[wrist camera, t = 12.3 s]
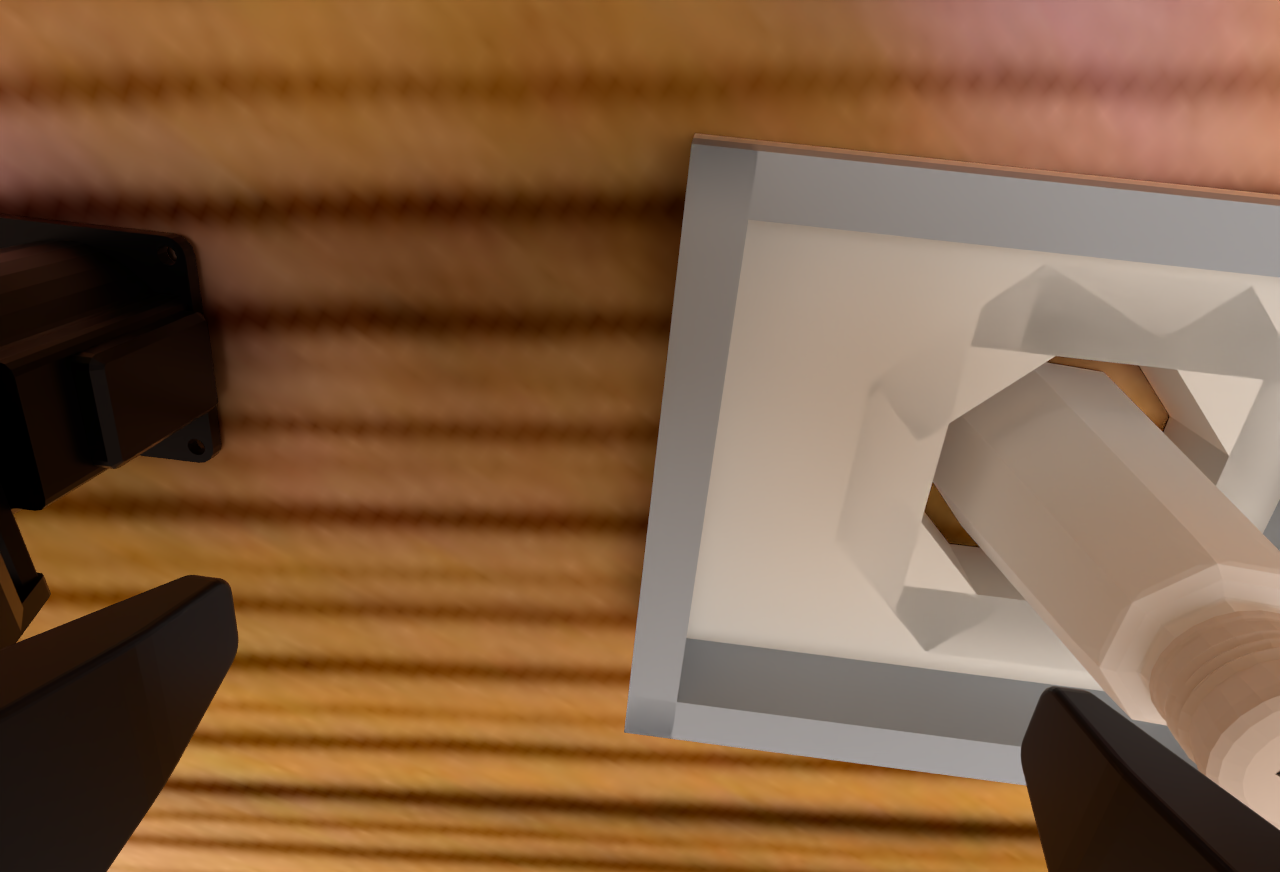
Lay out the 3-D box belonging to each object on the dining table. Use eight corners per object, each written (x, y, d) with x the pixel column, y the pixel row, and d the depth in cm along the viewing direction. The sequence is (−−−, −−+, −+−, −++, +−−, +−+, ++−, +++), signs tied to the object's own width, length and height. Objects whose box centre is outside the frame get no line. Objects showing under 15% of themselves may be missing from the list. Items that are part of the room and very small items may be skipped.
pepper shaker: (1018, 314, 19) (1354, 544, 9) (1178, 422, 20) (1647, 741, 10) (882, 474, 22) (1038, 804, 11) (1032, 567, 22) (1302, 950, 12)
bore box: (639, 612, 24) (624, 732, 19) (695, 133, 18) (691, 144, 14) (1159, 677, 23) (1268, 817, 19) (1381, 205, 18) (1615, 241, 13)
